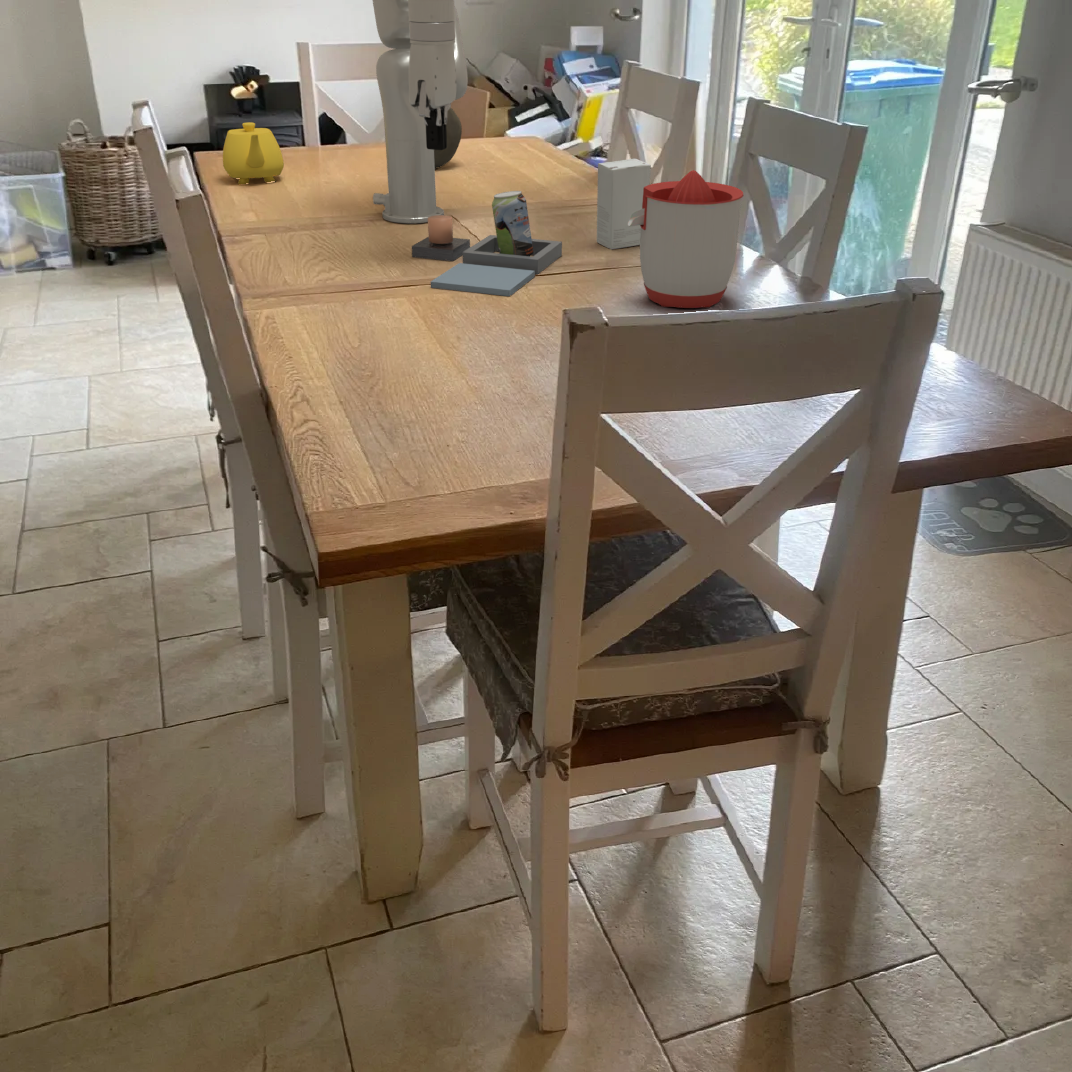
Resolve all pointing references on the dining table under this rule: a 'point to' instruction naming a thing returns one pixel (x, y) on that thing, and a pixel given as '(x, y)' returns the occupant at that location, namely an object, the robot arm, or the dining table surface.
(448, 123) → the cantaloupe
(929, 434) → the dining table surface
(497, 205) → the beverage can
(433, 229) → the button
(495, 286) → the mat
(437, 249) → the button base
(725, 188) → the citrus juicer
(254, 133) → the teapot
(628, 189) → the skincare box
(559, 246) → the frame
